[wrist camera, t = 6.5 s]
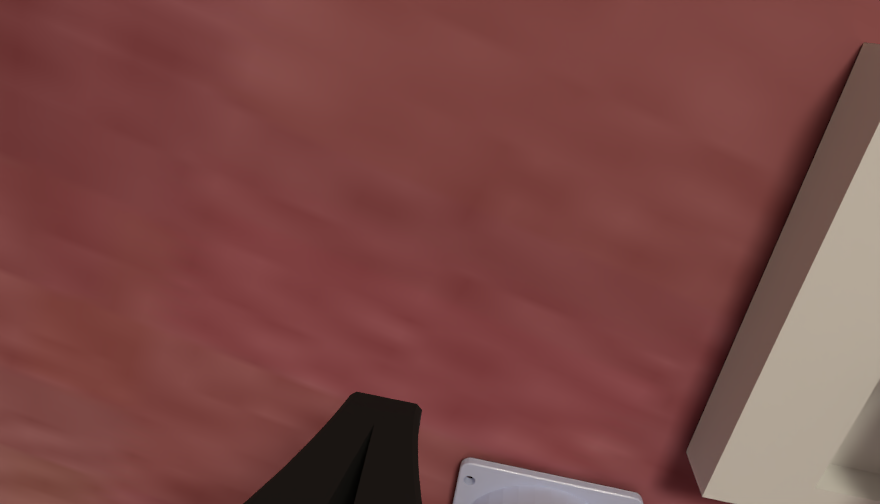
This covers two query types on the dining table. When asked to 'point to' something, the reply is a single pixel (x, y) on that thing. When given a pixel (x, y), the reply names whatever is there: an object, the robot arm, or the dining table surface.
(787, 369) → the breaker housing
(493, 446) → the dining table surface
